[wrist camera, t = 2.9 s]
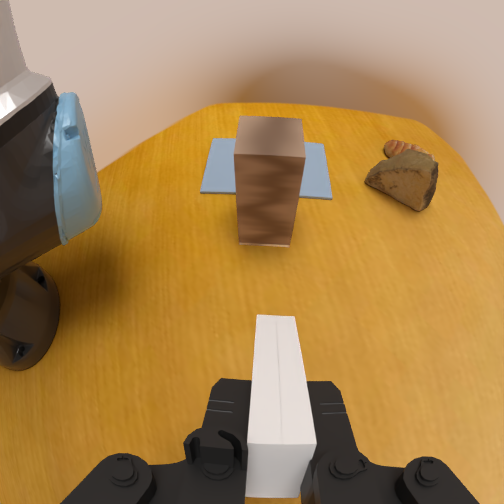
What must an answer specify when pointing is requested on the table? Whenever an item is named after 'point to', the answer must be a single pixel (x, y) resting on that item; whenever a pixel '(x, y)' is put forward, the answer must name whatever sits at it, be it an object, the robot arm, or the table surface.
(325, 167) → the mat
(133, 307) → the table surface
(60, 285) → the table surface
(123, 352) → the table surface
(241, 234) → the walnut block
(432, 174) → the rock
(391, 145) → the pastry
